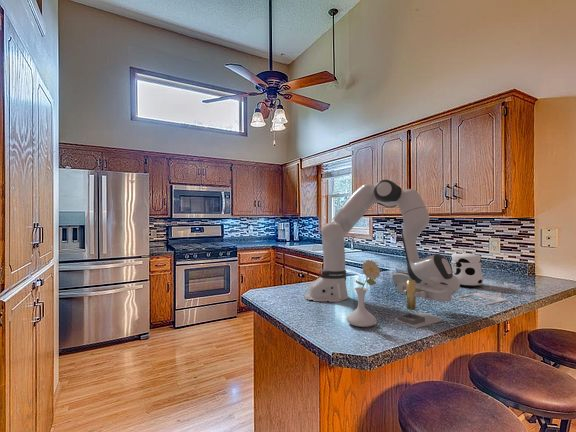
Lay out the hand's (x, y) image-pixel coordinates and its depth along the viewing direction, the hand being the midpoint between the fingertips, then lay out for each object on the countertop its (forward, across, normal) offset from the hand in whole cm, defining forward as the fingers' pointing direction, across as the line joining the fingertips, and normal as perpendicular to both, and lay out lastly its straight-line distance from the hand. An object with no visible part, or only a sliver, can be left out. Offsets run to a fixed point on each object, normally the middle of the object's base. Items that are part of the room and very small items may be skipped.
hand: (409, 293), depth 120 cm
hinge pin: (-1, 0, +6) cm, 6 cm away
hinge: (-50, -40, +12) cm, 65 cm away
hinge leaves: (-5, 0, +11) cm, 13 cm away
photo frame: (-59, -2, +12) cm, 60 cm away
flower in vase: (+16, -9, +12) cm, 22 cm away
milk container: (-83, -23, +12) cm, 87 cm away
